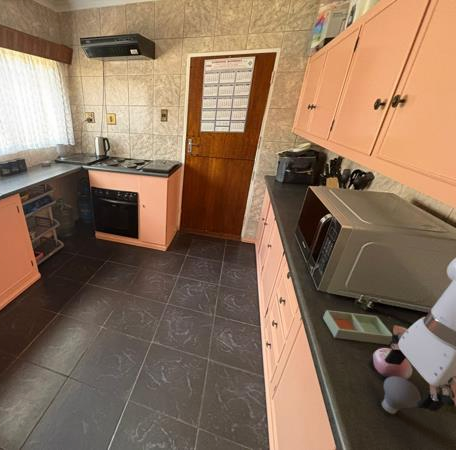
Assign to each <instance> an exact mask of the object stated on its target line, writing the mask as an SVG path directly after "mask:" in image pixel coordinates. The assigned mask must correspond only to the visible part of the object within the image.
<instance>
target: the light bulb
mask: <svg viewBox="0 0 456 450" xmlns="http://www.w3.org/2000/svg"><path fill="white" fill-rule="evenodd" d="M383 391H384V399H383V400H382V401H381V406H382V408H383V409H384V410H385V411H386V412H387V413H389V414H392V415H395V414H396V413H397V412H398V410H403V409H414V408H416V407H418V405H417V403H418V402H419V401H420V400H421V398H422V397H421V393H420V391H419V389H418V388H417V386H416V385H415V384H414V383H413V382H412V381H410V380H409V379H405V378H402V377H397V376H393V377H389V378H385V379H384V382H383Z"/></svg>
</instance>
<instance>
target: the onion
mask: <svg viewBox="0 0 456 450" xmlns="http://www.w3.org/2000/svg"><path fill="white" fill-rule="evenodd" d="M391 350H392V348H388V347H382V348H381V347H380V348H378V349H377V350H375V351H374V352H373V353H372V361H373V368H374V369H375V371H377V372H378V373H379V374H380V375H381V376H382V377H384V378H385V379H387V378H389V377H393V376H397V377H402V378H405V379H407V380H409V379H410V378H411V377H412V375H413V367H412V366H413V365H412V364H411V362H410V361H409V360H408V359H407V358H405V360H404V361H403V362H402V363H401V365H396V364H389V363H386V362H385V358H386V357H387V355H388V354H389V353H390V351H391Z"/></svg>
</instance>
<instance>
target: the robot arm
mask: <svg viewBox="0 0 456 450" xmlns="http://www.w3.org/2000/svg"><path fill="white" fill-rule="evenodd" d="M446 275H447V277H448V278H449V279H450V280H451V282H450V284H449V285H448V287H447V288H446V289H445V290H444V292H443V293H442V294H441V295H440V297H439V298H438V299H437V301H436V302H435V304H434V305H433V306H432V308H431V309H430V311H428V313H427V314H426V316H423V317H421V318H419V319H418V320H416V321H415V322H414V323H413V324H412V325H410V326H409V328H406V327H404V326H401V325H395V324H394V325H393V329H392V341H391V342H392V343H390V349H392V350H391V351H390V353H389V354H388V355H387V357H386V358H385V362H386V363H389V364H396V365H401V363H402V362H403V361H404V360H405V358H406V359H407V360H408V361H409V363H410V364H411V366H413V367H414V369H415V370H416V371H417V372H418V373H419V374H420V376H421V377H422V378H423V379H424V380H425V382H427V383H428V385H429V392H430V393H425V394H424V395H423V396H422V397H421V400H420V401H419V402H418V403H417V405H418V406H417V407H418V409H423V410H429V411H430V412H437V411H440V409H441V408H442V407H443V406H444V405H447V406H450V407H456V257H454V258H453V259H452V260H451V261H450V263H448V265H447V268H446ZM439 388H441V391H442V393H440V389H439ZM453 395H454V397H453Z"/></svg>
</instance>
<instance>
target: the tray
mask: <svg viewBox="0 0 456 450" xmlns="http://www.w3.org/2000/svg"><path fill="white" fill-rule="evenodd" d="M322 319H323V321H324V322H325V324H326V326H327V328H328V329H329V331H330V332H331V334H332V336H333V338H334V339H342V340H348V341H357V342H365V343H371V344H380V345H388V346H389V345H391V342H393V341H392V335H393V332H391V331H390V329H388V327H387V325H385V324H384V323H383V322H382V320H381V319H380V317H378V315H371V314H363V313H353V312H346V311H338V310H331V309H330V310H328V309H326V310H325V312H324V313H323V317H322Z"/></svg>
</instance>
